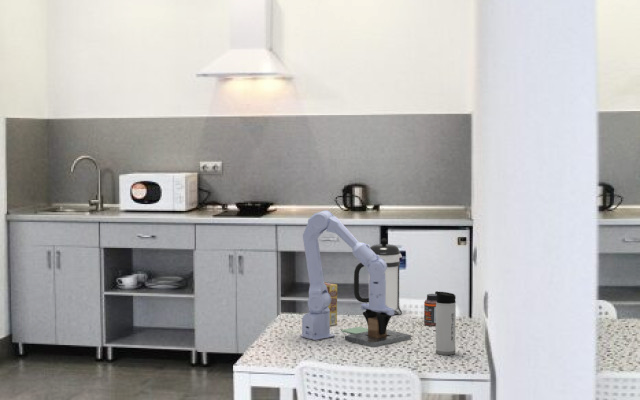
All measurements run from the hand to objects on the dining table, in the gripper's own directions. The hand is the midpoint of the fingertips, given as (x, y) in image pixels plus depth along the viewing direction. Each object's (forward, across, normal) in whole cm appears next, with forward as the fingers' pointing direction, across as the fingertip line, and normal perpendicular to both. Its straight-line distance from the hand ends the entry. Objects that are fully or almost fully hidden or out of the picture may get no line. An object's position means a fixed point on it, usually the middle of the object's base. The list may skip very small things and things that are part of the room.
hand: (377, 332), depth 312 cm
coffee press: (+3, +32, -33) cm, 46 cm away
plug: (+2, 0, 0) cm, 2 cm away
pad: (+2, +14, -4) cm, 15 cm away
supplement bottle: (+3, +5, -33) cm, 34 cm away
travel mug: (+3, -28, -3) cm, 28 cm away
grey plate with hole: (+2, 0, 0) cm, 2 cm away
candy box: (+3, +32, -4) cm, 32 cm away
